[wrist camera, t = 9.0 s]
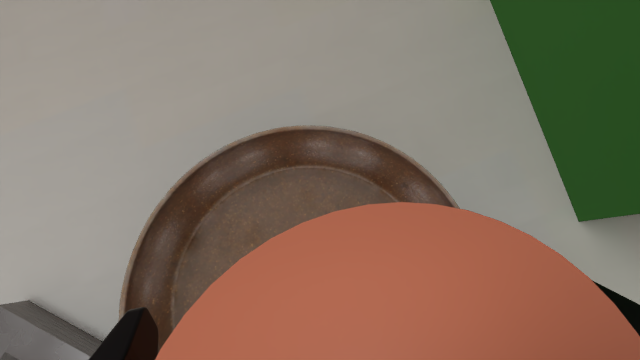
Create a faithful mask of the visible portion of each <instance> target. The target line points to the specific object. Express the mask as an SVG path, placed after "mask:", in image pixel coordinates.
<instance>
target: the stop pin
mask: <svg viewBox="0 0 640 360" xmlns="http://www.w3.org/2000/svg"><path fill="white" fill-rule="evenodd" d="M155 360H640V336H639V335H638V333H637V332H636V331H635V329H634V328H633V327H632V326H631V324H630V323H629V322H628V320H627V319H626V318H625V317H624V315H623V314H622V313H621V312H620V310H619V309H618V308H617V306H616V305H615V304H614V303H613V302H612V301H611V300H610V299H609V298H608V297H607V296H606V295H605V294H604V293H603V292H602V291H601V290H600V289H599V287H598V286H597V285H596V284H595V283H594V282H593V281H592V280H591V279H590V278H589V277H588V276H586V275H585V274H584V273H583V272H581V271H580V270H579V269H578V268H576V267H575V266H574V265H573V264H572V263H570V262H569V261H568V260H567V259H565V258H564V257H563V256H562V255H560V254H559V253H557V252H556V251H554V250H553V249H551V248H549V247H548V246H546V245H545V244H543V243H542V242H540V241H538V240H537V239H535V238H534V237H532V236H530V235H528V234H526V233H524V232H522V231H520V230H518V229H516V228H514V227H511V226H509V225H507V224H505V223H503V222H501V221H498V220H495V219H492V218H489V217H486V216H483V215H480V214H477V213H474V212H471V211H468V210H463V209H458V208H453V207H448V206H443V205H437V204H426V203H410V202H395V203H381V204H368V205H363V206H358V207H353V208H348V209H344V210H339V211H334V212H332V213H329V214H326V215H323V216H320V217H317V218H314V219H311V220H309V221H306V222H303V223H301V224H299V225H297V226H295V227H293V228H291V229H289V230H287V231H285V232H283V233H281V234H279V235H277V236H275V237H273V238H271V239H269V240H268V241H266V242H265V243H263V244H262V245H260V246H259V247H257V248H256V249H254V250H253V251H252V252H250V253H249V254H247V255H246V256H244V257H243V258H241V259H240V260H239V261H237V262H236V263H235V264H234V265H233V266H232V267H231V268H229V269H228V270H227V271H226V272H225V273H224V274H223V275H222V276H220V277H219V278H218V279H217V280H216V281H215V282H214V283H212V284H211V285H210V286H209V288H208V289H207V290H206V291H205V292H204V293H203V294H202V295H201V297H200V298H199V299H198V300H197V301H196V302H195V303H194V304H193V306H192V307H191V308H190V309H189V310H188V311H187V312H186V313H185V315H184V316H183V317H182V319H181V320H180V322H179V323H178V325H177V326H176V328H175V329H174V330H173V332H172V333H171V335H170V336H169V338H168V339H167V340H166V342H165V343H164V345H163V346H162V348H161V349H160V351H159V353H158V355H157V357H156V359H155Z"/></svg>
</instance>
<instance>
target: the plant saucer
mask: <svg viewBox="0 0 640 360" xmlns="http://www.w3.org/2000/svg"><path fill="white" fill-rule="evenodd" d="M395 202H410V203H426V204H437V205H443V206H448V207H453V208H458V209H460V208H459V207H458V205H457V204H456V202H455V201H454V199H453V198H452V197H451V196H450V194H449V193H448V192H447V191H446V189H445V188H444V187H443V186H442V185H441V183H440V182H439V181H438V180H437V179H436V178H435V177H433V176H432V175H431V174H430V173H429V172H428V171H427V170H426V169H425V168H424V167H422V166H421V165H420V164H419V163H417V162H416V161H415V160H414V159H412V158H411V157H409V156H408V155H406V154H405V153H403V152H401V151H400V150H398V149H396V148H394V147H393V146H391V145H389V144H387V143H385V142H383V141H380V140H378V139H375V138H373V137H370V136H368V135H365V134H362V133H359V132H355V131H350V130H346V129H340V128H334V127H327V126H312V125H310V126H291V127H281V128H275V129H271V130H267V131H264V132H259V133H256V134H253V135H250V136H247V137H244V138H242V139H239V140H237V141H234V142H232V143H230V144H228V145H226V146H224V147H222V148H220V149H219V150H217V151H215V152H214V153H212V154H210V155H209V156H207V157H206V158H204V159H203V160H202V161H200V162H199V163H198V164H196V165H195V166H194V167H193V168H191V169H190V170H189V171H188V172H187V173H186V174H185V175H184V176H182V177H181V178H180V179H179V180H178V181H177V182H176V183H175V185H174V186H173V187H172V188H171V189H170V190H169V191H168V192H167V193H166V195H165V196H164V197H163V198H162V200H161V201H160V202H159V203H158V205H157V206H156V208H155V209H154V211H153V212H152V214H151V215H150V217H149V219H148V220H147V222H146V224H145V226H144V228H143V230H142V231H141V233H140V235H139V238H138V240H137V243H136V245H135V247H134V249H133V252H132V255H131V257H130V260H129V263H128V267H127V270H126V273H125V277H124V282H123V287H122V292H121V298H120V309H119V321H120V319H121V318H122V317H123V316H124V314H125V313H126V312H127V311H128V310H130V309H135V308H140V307H146V308H147V309H148V310H149V312H150V314H151V316H152V318H153V319H154V321H155V323H156V325H157V327H158V333H159V337H158V353H159V351H160V349H161V348H162V346H163V345H164V343H165V342H166V340H167V339H168V338H169V336H170V335H171V333H172V332H173V330H174V329H175V328H176V326H177V325H178V323H179V322H180V320H181V319H182V317H183V316H184V315H185V313H186V312H187V311H188V310H189V309H190V308H191V307H192V306H193V304H194V303H195V302H196V301H197V300H198V299H199V298H200V297H201V295H202V294H203V293H204V292H205V291H206V290H207V289H208V288H209V286H210V285H211V284H212V283H214V282H215V281H216V280H217V279H218V278H219V277H220V276H222V275H223V274H224V273H225V272H226V271H227V270H228V269H229V268H231V267H232V266H233V265H234V264H235V263H236V262H237V261H239V260H240V259H241V258H243V257H244V256H246V255H247V254H249V253H250V252H252V251H253V250H254V249H256V248H257V247H259V246H260V245H262V244H263V243H265V242H266V241H268V240H269V239H271V238H273V237H275V236H277V235H279V234H281V233H283V232H285V231H287V230H289V229H291V228H293V227H295V226H297V225H299V224H301V223H303V222H306V221H309V220H311V219H314V218H317V217H320V216H323V215H326V214H329V213H332V212H334V211H339V210H344V209H348V208H353V207H358V206H363V205H368V204H381V203H395Z"/></svg>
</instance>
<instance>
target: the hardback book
mask: <svg viewBox="0 0 640 360" xmlns="http://www.w3.org/2000/svg"><path fill="white" fill-rule="evenodd" d="M490 1H491V4H492V6H493V9H494V11H495V14H496V16H497V19H498V21H499V24H500V26H501V29H502V31H503V34H504V36H505V39H506V41H507V44H508V46H509V49H510V51H511V54H512V56H513V59H514V61H515V64H516V66H517V69H518V71H519V74H520V76H521V79H522V81H523V84H524V86H525V89H526V91H527V94H528V96H529V99H530V101H531V104H532V106H533V109H534V111H535V113H536V116H537V118H538V121H539V123H540V126H541V128H542V131H543V133H544V136H545V138H546V141H547V143H548V146H549V148H550V151H551V153H552V156H553V158H554V161H555V163H556V166H557V168H558V171H559V173H560V176H561V178H562V181H563V183H564V186H565V188H566V191H567V193H568V196H569V198H570V201H571V203H572V206H573V208H574V211H575V213H576V216H577V218H578V221H579V222H580V221H588V220H595V219H603V218H610V217H618V216H625V215H633V214H640V0H490Z"/></svg>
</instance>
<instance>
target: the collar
mask: <svg viewBox="0 0 640 360" xmlns="http://www.w3.org/2000/svg"><path fill="white" fill-rule="evenodd" d="M101 343H102V342H101V341H100V340H98V339H96V338H94V337H92V336H91V335H89V334H87V333H85V332H83V331H82V330H80V329H78V328H76V327H74V326H73V325H71V324H69V323H67V322H65V321H64V320H62V319H60V318H58V317H56V316H55V315H53V314H51V313H49V312H47V311H46V310H44V309H42V308H40V307H38V306H37V305H35V304H33V303H31V302H29V301H22V302H16V303H9V304H3V305H0V360H89V358H90V357H91V356H92V354H93V353H94V352H95V351H96V349H97V348H98V347H99V346H100V344H101Z"/></svg>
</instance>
